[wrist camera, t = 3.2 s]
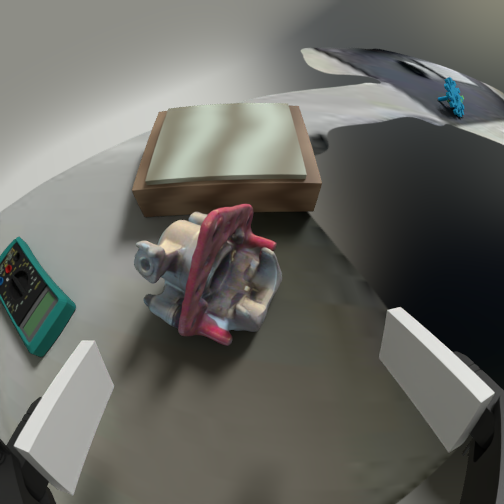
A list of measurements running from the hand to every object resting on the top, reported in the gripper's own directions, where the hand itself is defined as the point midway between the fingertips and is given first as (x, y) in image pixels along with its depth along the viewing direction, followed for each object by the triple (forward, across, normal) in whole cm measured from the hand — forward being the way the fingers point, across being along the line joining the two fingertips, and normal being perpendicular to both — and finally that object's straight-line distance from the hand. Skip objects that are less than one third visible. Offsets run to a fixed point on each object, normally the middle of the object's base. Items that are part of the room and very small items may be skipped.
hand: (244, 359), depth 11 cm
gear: (+40, +54, +24) cm, 71 cm away
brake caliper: (+14, -2, -2) cm, 14 cm away
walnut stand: (+24, 0, +8) cm, 25 cm away
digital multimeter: (+14, -24, -2) cm, 28 cm away
